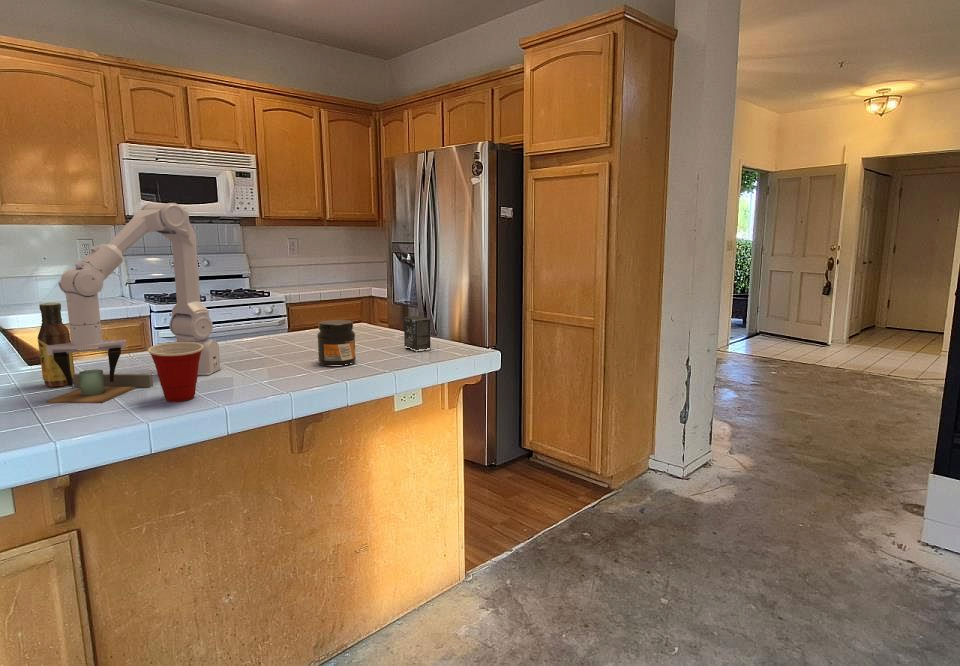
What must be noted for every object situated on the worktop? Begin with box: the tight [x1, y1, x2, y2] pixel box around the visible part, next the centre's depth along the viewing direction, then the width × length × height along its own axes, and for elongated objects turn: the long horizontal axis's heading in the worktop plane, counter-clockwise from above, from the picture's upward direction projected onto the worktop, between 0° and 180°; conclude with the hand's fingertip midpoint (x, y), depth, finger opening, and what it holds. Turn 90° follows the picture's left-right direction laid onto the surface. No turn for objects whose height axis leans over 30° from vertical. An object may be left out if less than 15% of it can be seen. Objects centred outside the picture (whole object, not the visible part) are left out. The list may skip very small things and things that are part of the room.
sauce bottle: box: [37, 302, 76, 388], centre depth 134 cm, size 7×6×20 cm
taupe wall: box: [73, 373, 154, 388], centre depth 134 cm, size 18×1×3 cm, turn 91°
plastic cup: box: [147, 341, 204, 403], centre depth 124 cm, size 11×11×12 cm
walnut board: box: [45, 387, 136, 404], centre depth 127 cm, size 12×12×1 cm
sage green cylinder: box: [78, 369, 105, 396], centre depth 127 cm, size 4×4×5 cm
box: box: [403, 315, 431, 350], centre depth 182 cm, size 8×6×11 cm
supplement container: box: [316, 319, 357, 366], centre depth 161 cm, size 10×10×12 cm
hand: (91, 383), depth 127 cm, fingers open, 7 cm apart
